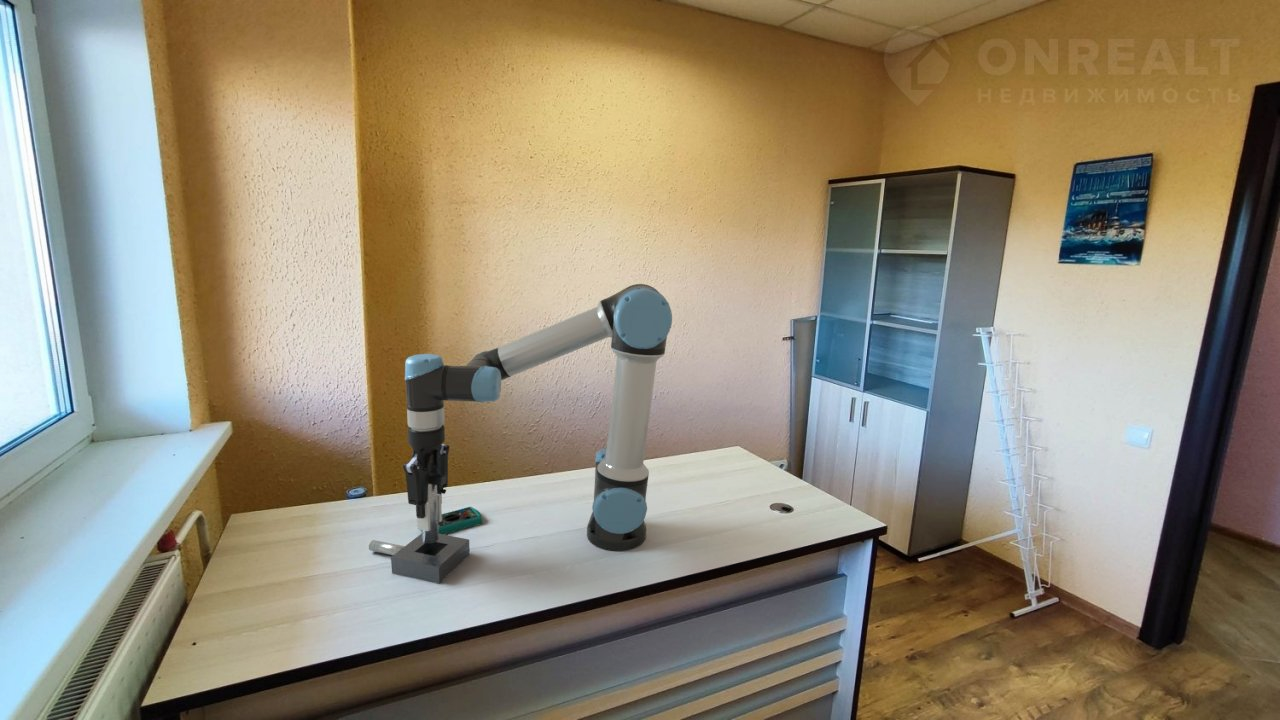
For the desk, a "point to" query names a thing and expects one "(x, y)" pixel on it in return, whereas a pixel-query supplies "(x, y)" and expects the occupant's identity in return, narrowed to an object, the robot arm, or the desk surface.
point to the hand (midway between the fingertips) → (430, 524)
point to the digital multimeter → (459, 520)
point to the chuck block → (425, 557)
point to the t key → (433, 507)
